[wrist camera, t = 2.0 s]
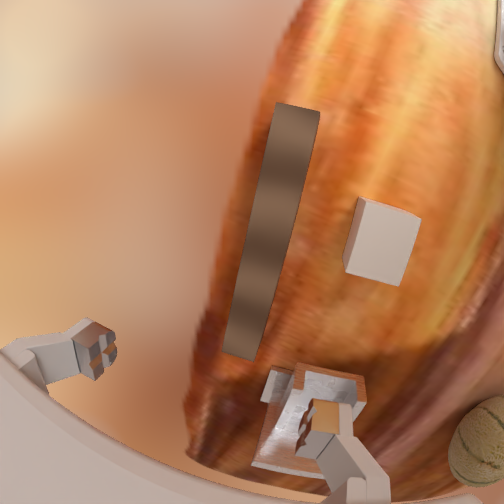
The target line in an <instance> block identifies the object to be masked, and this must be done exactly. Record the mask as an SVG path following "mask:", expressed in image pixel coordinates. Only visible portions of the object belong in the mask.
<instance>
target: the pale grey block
mask: <svg viewBox="0 0 504 504" xmlns="http://www.w3.org/2000/svg"><path fill="white" fill-rule="evenodd" d="M421 220H422V219H420V218H419V217H417V216H415V215H413V214H412V213H410V212H408V211H406V210H403V209H399V208H396V207H393V206H390V205H387V204H384V203H381V202H377V201H374V200H371V199H367V198H364V197H360V196H359V198H358V202H357V206H356V210H355V213H354V217H353V221H352V224H351V228H350V232H349V235H348V239H347V242H346V245H345V249H344V252H343V255H342V259H343V264H344V268H345V272H346V273H349V274H353V275H357V276H361V277H364V278H368V279H372V280H376V281H380V282H383V283H387V284H391V285H395V286H398V287H399V284H400V282H401V279H402V277H403V274H404V271H405V269H406V266H407V263H408V260H409V258H410V255H411V252H412V249H413V246H414V243H415V240H416V237H417V233H418V230H419V227H420V223H421Z"/></svg>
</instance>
